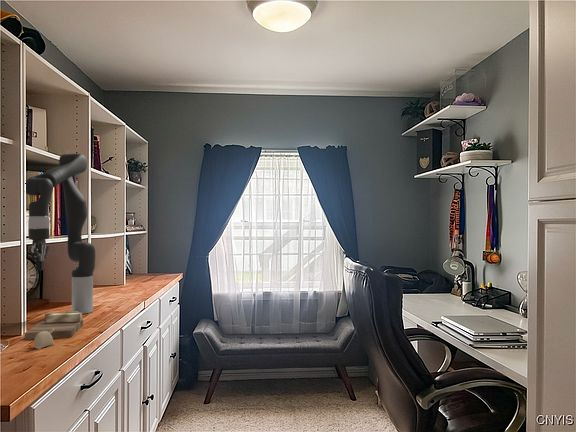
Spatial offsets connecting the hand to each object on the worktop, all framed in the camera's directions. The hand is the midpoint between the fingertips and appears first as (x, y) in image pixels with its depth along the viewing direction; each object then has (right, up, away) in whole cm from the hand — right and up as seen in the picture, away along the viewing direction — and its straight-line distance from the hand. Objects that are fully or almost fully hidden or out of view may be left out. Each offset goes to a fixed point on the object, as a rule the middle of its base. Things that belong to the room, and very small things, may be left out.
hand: (39, 270), depth 183 cm
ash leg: (+9, -21, +1) cm, 23 cm away
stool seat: (+9, -24, -5) cm, 26 cm away
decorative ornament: (+15, -24, -25) cm, 38 cm away
